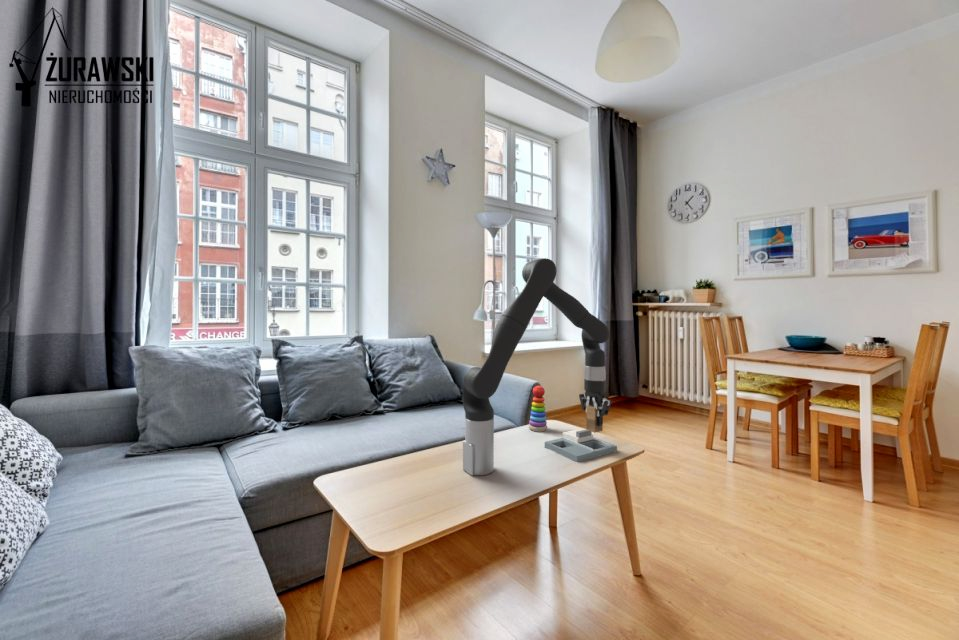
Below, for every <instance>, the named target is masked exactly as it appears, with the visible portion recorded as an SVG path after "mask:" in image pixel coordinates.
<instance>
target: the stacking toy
mask: <svg viewBox="0 0 959 640" xmlns="http://www.w3.org/2000/svg"><path fill="white" fill-rule="evenodd" d="M545 391H546V390H545V388H544V387H543V386H542V385H535V386H534V387H533V389H532V394H533V396H534V397H533V398H532V402H531V411H530V418H529V419H530V420H529V421H528V424H529V425H528V429H529V430H531V431H532V432H533V431H534V432H545V431H546V430H548V424H547V412H546V407H545V405H546V404H545V398H544V395H545V393H546V392H545Z"/></svg>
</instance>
